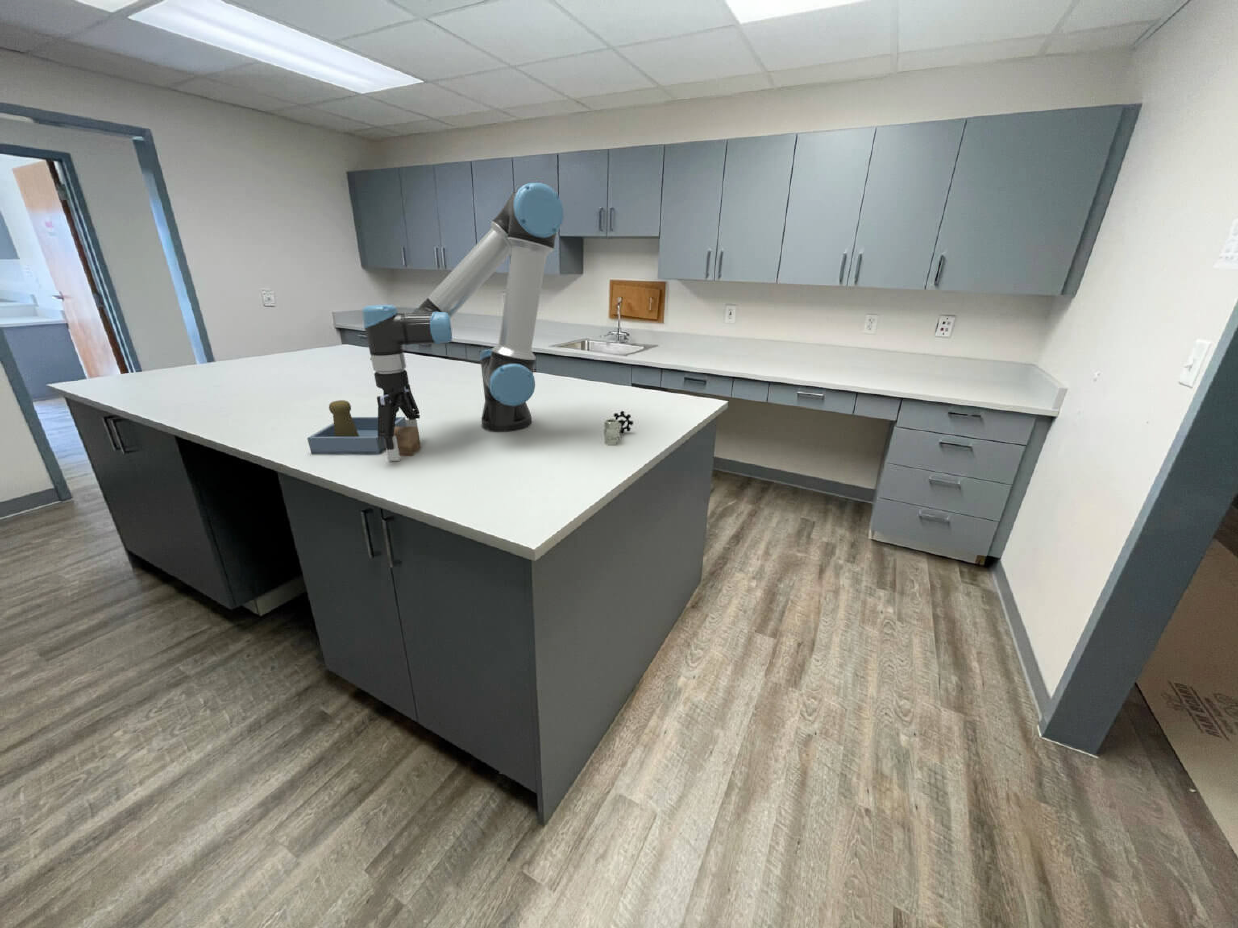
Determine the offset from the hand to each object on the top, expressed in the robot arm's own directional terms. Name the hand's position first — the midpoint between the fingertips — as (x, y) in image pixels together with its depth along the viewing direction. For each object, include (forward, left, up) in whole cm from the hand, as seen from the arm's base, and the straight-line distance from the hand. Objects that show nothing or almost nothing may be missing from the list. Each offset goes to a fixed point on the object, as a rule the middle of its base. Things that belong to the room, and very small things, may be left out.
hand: (405, 450), depth 129 cm
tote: (+15, -7, 0) cm, 16 cm away
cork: (+19, -7, 0) cm, 20 cm away
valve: (-56, -10, 0) cm, 57 cm away
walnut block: (0, 0, 0) cm, 0 cm away
